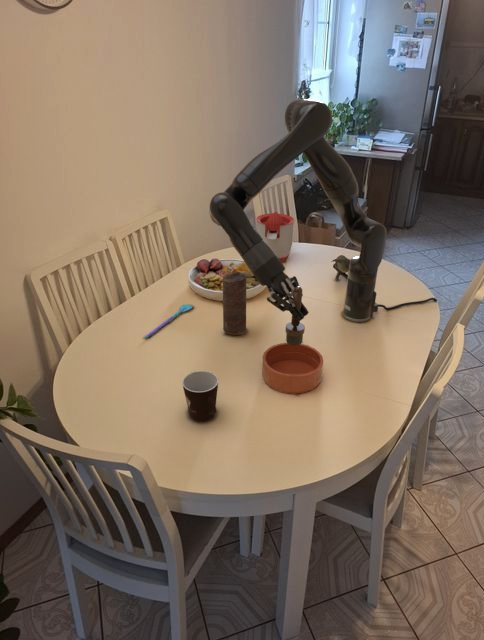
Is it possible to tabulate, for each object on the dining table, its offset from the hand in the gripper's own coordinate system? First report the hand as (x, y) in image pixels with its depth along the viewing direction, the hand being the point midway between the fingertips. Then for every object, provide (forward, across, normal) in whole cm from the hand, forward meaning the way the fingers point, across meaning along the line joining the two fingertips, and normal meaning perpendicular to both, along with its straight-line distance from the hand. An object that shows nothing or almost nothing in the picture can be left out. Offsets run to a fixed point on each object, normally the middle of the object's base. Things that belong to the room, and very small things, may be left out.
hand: (303, 317), depth 126 cm
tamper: (+4, 0, +7) cm, 8 cm away
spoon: (-22, +8, +49) cm, 54 cm away
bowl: (-20, +40, +47) cm, 65 cm away
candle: (-6, +13, +34) cm, 37 cm away
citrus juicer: (-18, +74, +46) cm, 88 cm away
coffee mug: (+4, -27, +24) cm, 36 cm away
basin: (+12, 0, +15) cm, 20 cm away
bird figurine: (+5, +69, +23) cm, 73 cm away
